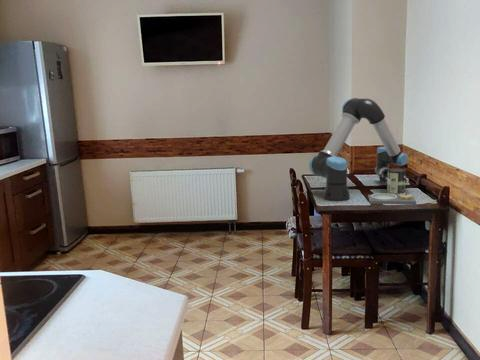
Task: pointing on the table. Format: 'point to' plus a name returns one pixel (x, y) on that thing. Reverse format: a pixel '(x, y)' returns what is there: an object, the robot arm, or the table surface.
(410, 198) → the gear board
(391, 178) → the coffee can
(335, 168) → the robot arm
